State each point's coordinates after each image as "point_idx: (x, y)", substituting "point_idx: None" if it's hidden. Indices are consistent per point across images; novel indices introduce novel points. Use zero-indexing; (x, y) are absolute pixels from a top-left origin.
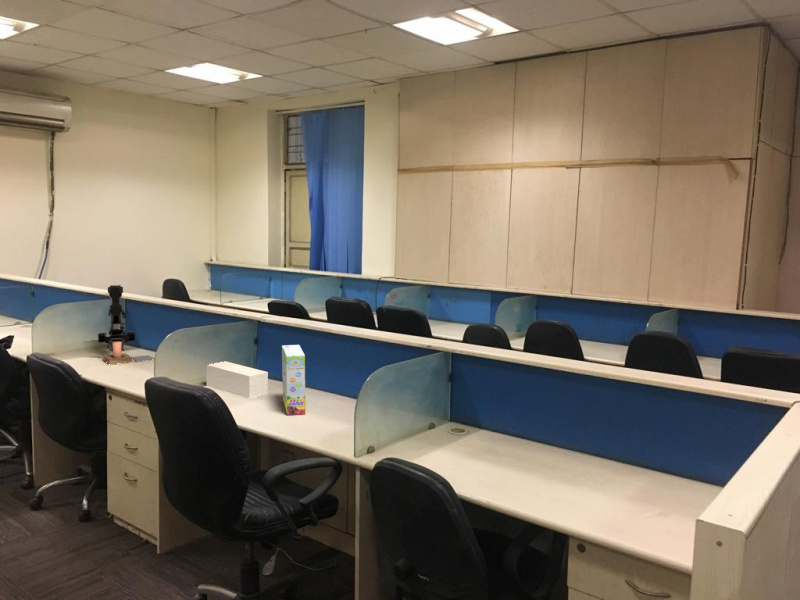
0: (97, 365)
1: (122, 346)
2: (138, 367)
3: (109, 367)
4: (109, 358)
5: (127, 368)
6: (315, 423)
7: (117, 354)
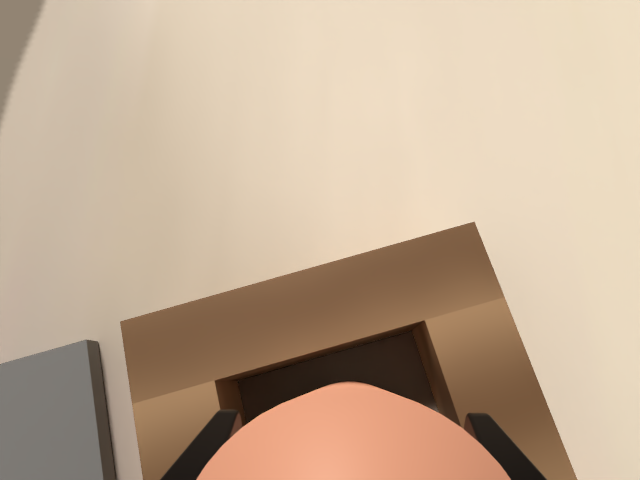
0: (620, 274)
1: (196, 457)
2: (127, 36)
3: (445, 116)
4: (482, 313)
5: (245, 20)
6: None
7: (348, 382)
